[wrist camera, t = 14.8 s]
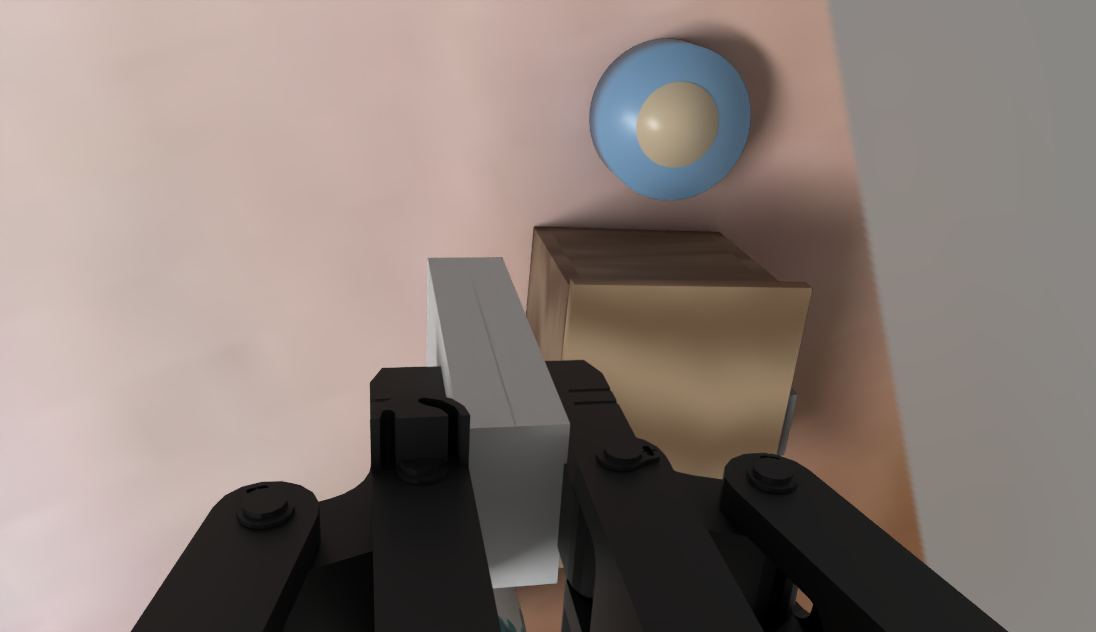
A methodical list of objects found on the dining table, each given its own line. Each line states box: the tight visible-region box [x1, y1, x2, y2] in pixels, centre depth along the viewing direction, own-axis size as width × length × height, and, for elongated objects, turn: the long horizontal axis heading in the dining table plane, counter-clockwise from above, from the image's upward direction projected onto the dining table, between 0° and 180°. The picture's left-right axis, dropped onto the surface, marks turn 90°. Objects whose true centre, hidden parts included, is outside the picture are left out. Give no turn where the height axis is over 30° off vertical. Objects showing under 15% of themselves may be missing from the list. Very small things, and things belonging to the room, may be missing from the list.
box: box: [526, 227, 779, 361], centre depth 49 cm, size 15×11×9 cm
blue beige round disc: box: [589, 39, 751, 200], centre depth 47 cm, size 8×8×3 cm
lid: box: [558, 278, 813, 568], centre depth 46 cm, size 16×13×2 cm
